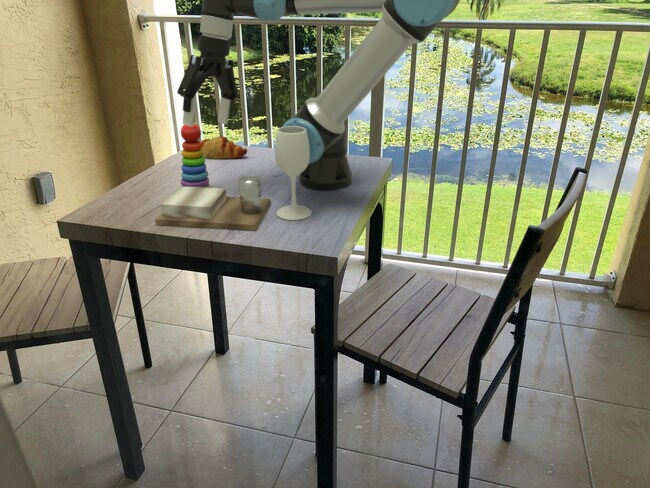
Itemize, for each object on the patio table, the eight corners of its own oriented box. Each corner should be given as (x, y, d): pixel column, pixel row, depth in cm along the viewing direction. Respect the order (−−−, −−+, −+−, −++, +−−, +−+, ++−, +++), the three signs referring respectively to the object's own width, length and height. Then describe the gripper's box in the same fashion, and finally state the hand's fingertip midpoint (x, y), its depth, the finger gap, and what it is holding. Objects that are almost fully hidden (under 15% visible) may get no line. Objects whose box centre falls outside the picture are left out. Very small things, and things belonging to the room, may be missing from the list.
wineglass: (289, 204, 132) (286, 123, 122) (317, 211, 128) (317, 128, 119) (269, 215, 125) (265, 131, 116) (298, 223, 121) (297, 136, 112)
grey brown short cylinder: (263, 207, 126) (261, 176, 123) (258, 215, 122) (257, 183, 118) (243, 206, 127) (241, 175, 123) (238, 214, 123) (235, 182, 119)
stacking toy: (204, 198, 135) (196, 128, 127) (176, 195, 137) (166, 126, 128) (215, 187, 142) (209, 120, 134) (189, 185, 144) (180, 118, 135)
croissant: (187, 165, 171) (178, 147, 164) (198, 144, 176) (190, 126, 170) (245, 169, 165) (238, 151, 159) (255, 148, 171) (248, 129, 164)
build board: (270, 204, 132) (269, 187, 130) (255, 230, 118) (254, 213, 116) (181, 199, 134) (179, 183, 132) (156, 225, 120) (153, 207, 118)
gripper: (234, 39, 136) (224, 119, 143) (166, 27, 115) (159, 122, 122) (257, 44, 133) (246, 125, 141) (192, 33, 112) (183, 130, 119)
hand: (206, 124), depth 131 cm, fingers open, 13 cm apart
